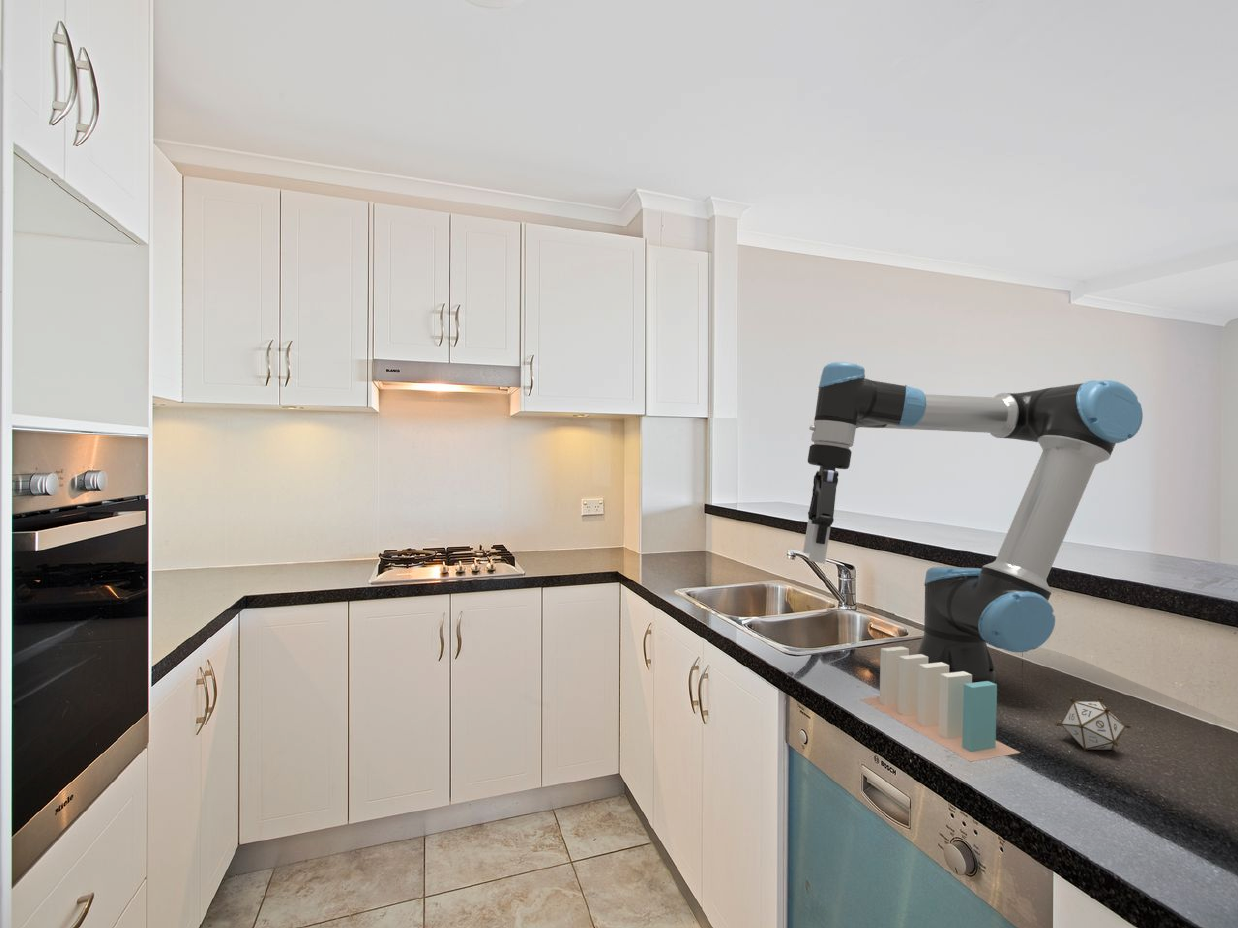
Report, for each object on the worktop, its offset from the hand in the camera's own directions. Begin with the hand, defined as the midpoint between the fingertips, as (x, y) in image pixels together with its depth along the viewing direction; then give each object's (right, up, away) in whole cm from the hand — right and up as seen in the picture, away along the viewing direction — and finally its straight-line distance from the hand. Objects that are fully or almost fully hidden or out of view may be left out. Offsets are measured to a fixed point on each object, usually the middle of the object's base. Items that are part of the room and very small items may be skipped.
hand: (813, 557), depth 112 cm
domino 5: (+20, -27, -18) cm, 38 cm away
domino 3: (+17, -27, -10) cm, 33 cm away
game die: (+39, -28, -17) cm, 51 cm away
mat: (+17, -27, -10) cm, 34 cm away
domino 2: (+16, -27, -5) cm, 32 cm away
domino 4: (+19, -27, -14) cm, 36 cm away
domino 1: (+15, -27, -1) cm, 31 cm away
